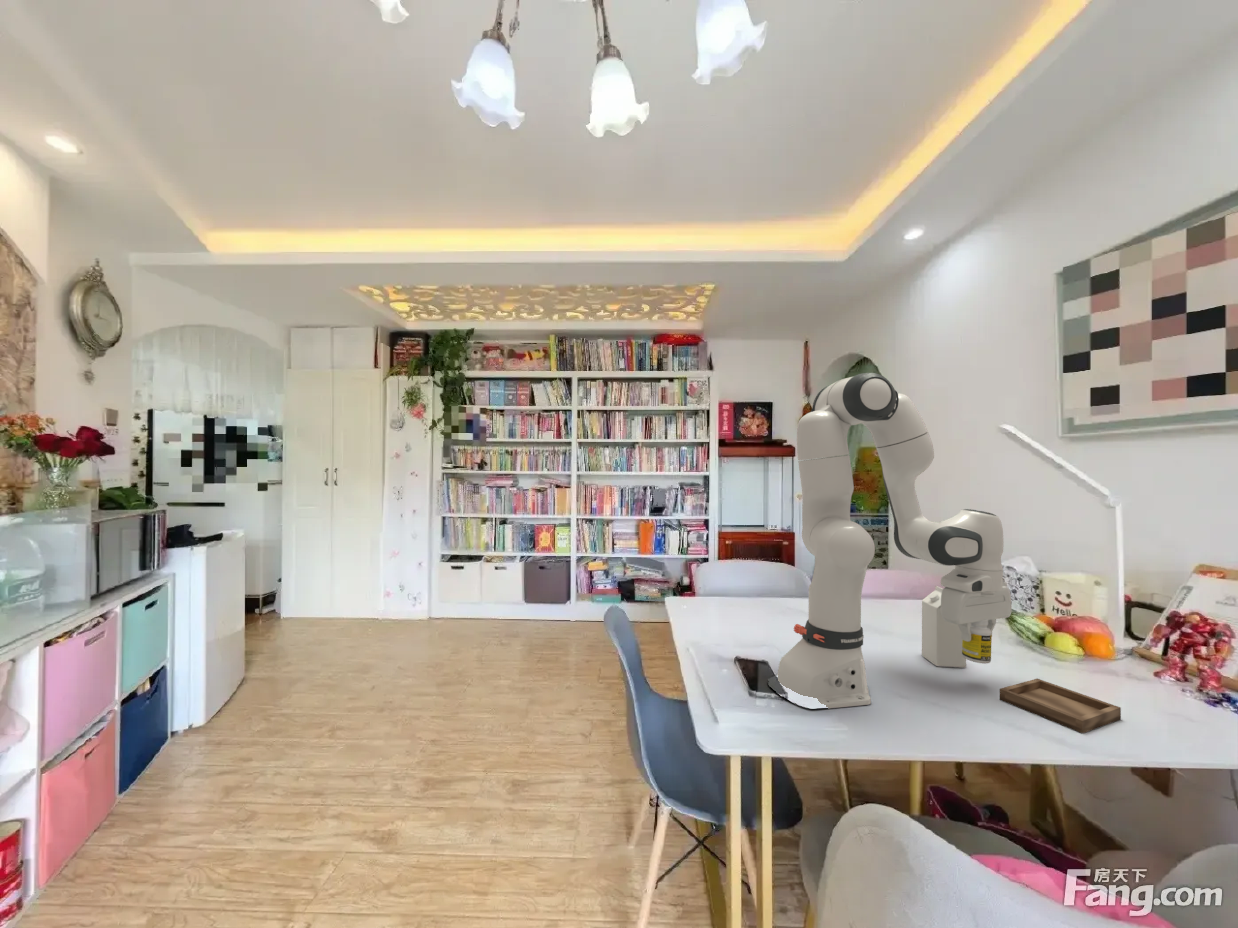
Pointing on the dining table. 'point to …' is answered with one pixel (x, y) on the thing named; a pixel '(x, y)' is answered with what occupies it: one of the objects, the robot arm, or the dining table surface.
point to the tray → (1061, 705)
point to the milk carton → (940, 634)
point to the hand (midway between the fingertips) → (976, 638)
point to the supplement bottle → (978, 643)
